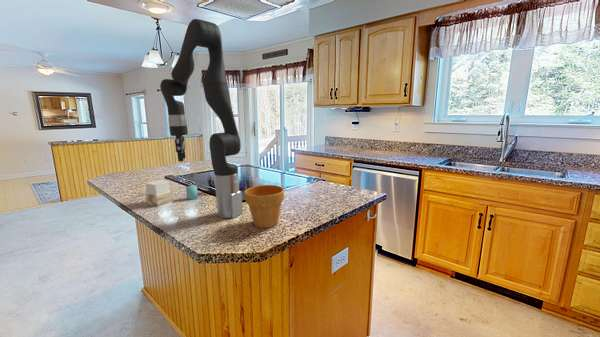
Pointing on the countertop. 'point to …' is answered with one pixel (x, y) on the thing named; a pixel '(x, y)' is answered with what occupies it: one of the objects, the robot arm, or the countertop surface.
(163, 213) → the countertop surface
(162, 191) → the white top block
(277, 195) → the flower pot
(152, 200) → the oak base block
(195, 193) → the teal cylinder
